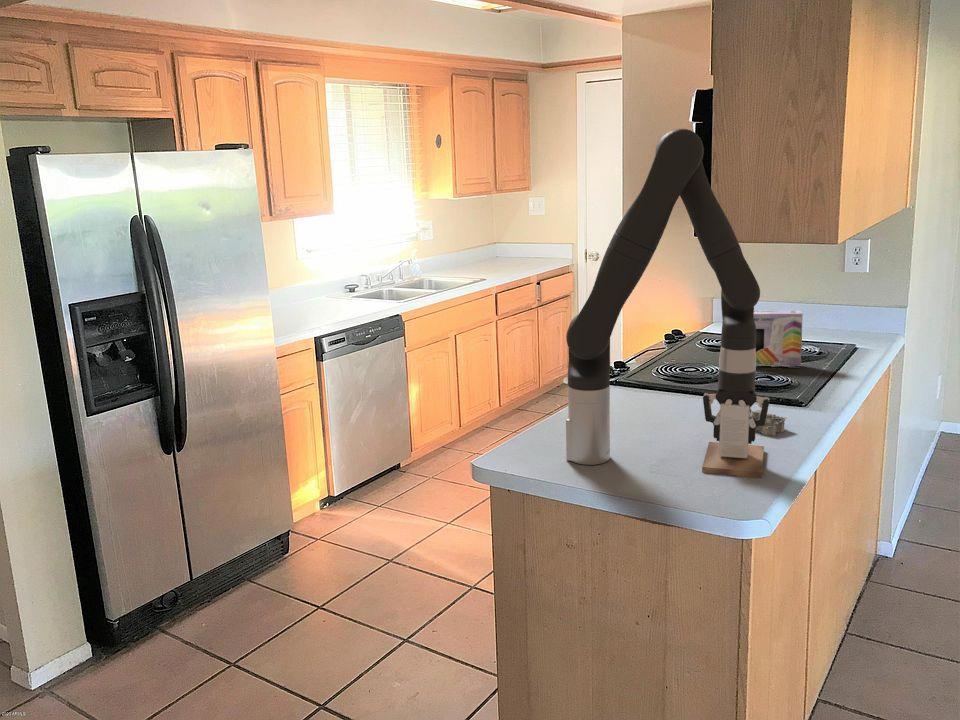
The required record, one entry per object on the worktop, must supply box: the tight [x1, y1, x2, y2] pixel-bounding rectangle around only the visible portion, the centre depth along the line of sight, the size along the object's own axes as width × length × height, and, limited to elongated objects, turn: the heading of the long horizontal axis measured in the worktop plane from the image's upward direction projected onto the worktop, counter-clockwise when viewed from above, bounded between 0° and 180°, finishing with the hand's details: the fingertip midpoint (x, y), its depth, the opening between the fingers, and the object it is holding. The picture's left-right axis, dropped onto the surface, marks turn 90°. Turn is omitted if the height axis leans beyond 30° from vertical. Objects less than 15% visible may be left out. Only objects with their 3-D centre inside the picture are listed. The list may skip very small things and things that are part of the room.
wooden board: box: [701, 441, 765, 478], centre depth 175 cm, size 12×16×1 cm
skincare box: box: [718, 403, 751, 458], centre depth 174 cm, size 6×4×12 cm
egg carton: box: [752, 409, 788, 436], centre depth 195 cm, size 11×8×4 cm
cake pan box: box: [754, 309, 803, 366], centre depth 248 cm, size 19×5×18 cm, turn 73°
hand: (734, 441), depth 174 cm, fingers closed on skincare box, 6 cm apart
